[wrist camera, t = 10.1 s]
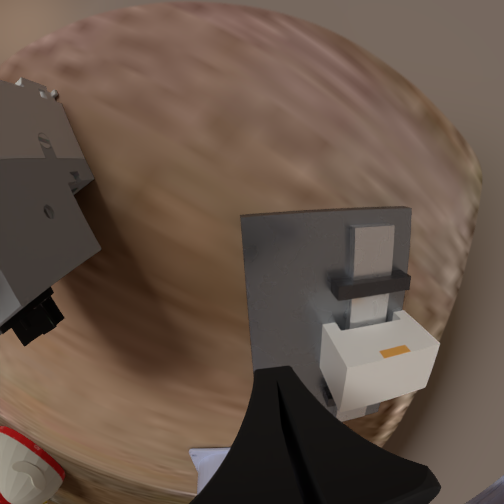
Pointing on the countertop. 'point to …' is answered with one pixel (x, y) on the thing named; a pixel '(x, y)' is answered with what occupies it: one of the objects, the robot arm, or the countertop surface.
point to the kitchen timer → (26, 470)
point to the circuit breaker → (38, 207)
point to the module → (376, 361)
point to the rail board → (321, 283)
